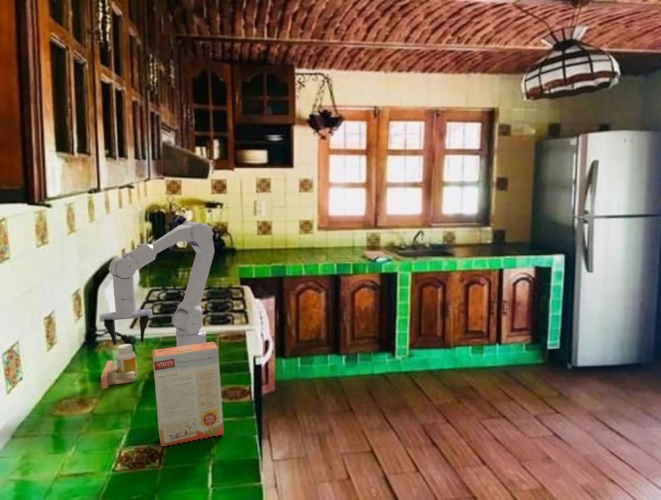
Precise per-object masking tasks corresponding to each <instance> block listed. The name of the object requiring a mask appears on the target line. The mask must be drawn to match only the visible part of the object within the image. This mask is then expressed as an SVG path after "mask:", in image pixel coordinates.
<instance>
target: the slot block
mask: <svg viewBox="0 0 661 500" xmlns="http://www.w3.org/2000/svg"><path fill="white" fill-rule="evenodd" d="M136 367H137V368H138V363H137V361H136ZM135 380H136V378H135V375H134V371H131V372H121V373H117V363H113V364H112V366H111V369H110V371H109V374H108V385H109V386H110V385H117V384H128V383H134V382H135Z"/></svg>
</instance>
